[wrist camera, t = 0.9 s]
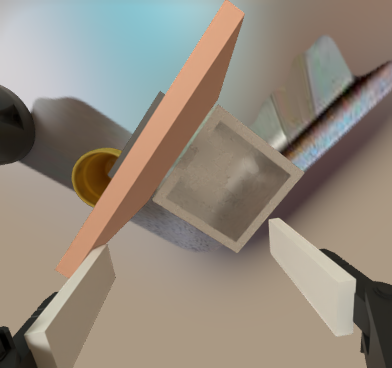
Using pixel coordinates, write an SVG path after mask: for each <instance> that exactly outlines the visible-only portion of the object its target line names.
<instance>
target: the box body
mask: <svg viewBox="0 0 392 368" xmlns="http://www.w3.org/2000/svg"><path fill="white" fill-rule="evenodd" d="M303 174H304V172H303V171H302V170H300V169H299V168H298V167H297V166H295V165H294V164H293V163H292V162H290V161H289V160H288V159H287V158H285V157H284V156H283V155H282V154H280V153H279V152H278V151H276V150H275V149H274V148H273V147H271V146H270V145H269V144H268V143H266V142H265V141H264V140H263V139H261V138H260V137H259V136H258V135H256V134H255V133H254V132H252V131H251V130H250V129H249V128H247V127H246V126H245V125H244V124H242V123H241V122H240V121H238V120H237V119H236V118H235V117H233V116H232V115H231V114H230V113H229V112H227V111H226V110H225V109H223V108H222V107H221V106H220V105H217V106H215V107H214V108H213V109H211V110H210V111H209V113H208V114H207V116H206V117H205V119H204V120H203V122H202V123H201V124H200V126H199V127H198V129H197V130H196V132H195V133H194V135H193V136H192V138H191V139H190V141H189V142H188V143H187V145H186V146H185V148H184V149H183V151H182V152H181V154H180V155H179V157H178V158H177V159H176V161H175V162H174V164H173V165H172V167H171V168H170V170H169V171H168V173H167V174H166V175H165V177H164V178H163V180H162V181H161V183H160V184H159V186H158V188H157V190H156V192H155V195H154V197H153V199H152V201H154V202H155V203H157V204H159V205H160V206H162V207H163V208H165V209H167V210H168V211H170V212H171V213H173V214H175V215H176V216H178V217H180V218H181V219H183V220H184V221H186V222H188V223H189V224H191V225H193V226H194V227H196V228H197V229H199V230H201V231H202V232H204V233H205V234H207V235H209V236H210V237H212V238H214V239H215V240H217V241H218V242H220V243H222V244H223V245H225V246H227V247H228V248H230V249H232V250H233V251H235V252H236V253H238V252H239V251H240V249H241V248H242V247H243V246H244V245H245V244H246V243H247V241H248V240H249V239H250V238H251V236H252V235H253V234H254V233H255V232H256V231H257V229H258V228H259V227H260V226H261V224H262V223H263V222H264V221H265V220H266V218H267V217H268V216H269V215H270V214H271V212H272V211H273V210H274V209H275V208H276V206H277V205H278V204H279V203H280V202H281V201H282V199H283V198H284V197H285V195H287V193H288V192H289V191H290V190H291V189H292V187H293V186H294V185H295V184H296V183H297V181H298V180H299V179H300V178H301V177H302V175H303Z"/></svg>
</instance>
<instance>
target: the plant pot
mask: <svg viewBox="0 0 392 368" xmlns="http://www.w3.org/2000/svg"><path fill="white" fill-rule="evenodd" d="M121 153H122V151H120V150H118V149H114V148H100V149H96V150H92V151H90V152H87V153H86V154H84V155H83V156H81V157H80V158H79V159H78V160H77V162H76V163H75V165H74V167H73V170H72V184H73V188H74V190H75V192H76V193H77V195H78V196H79V197H80V199H81V200H82V201H84V202H85V203H86V204H88V205H89V206H91V207H95V205H96V204H97V202H98V201H99V199H100V198H101V196H102V194H103V193H104V191H105V190H106V188H107V186H108V185H109V183H110V182H111V180H112V178H111V177H109V176H108V173H109V172H110V170H111V169H112V167H113V165H114V164H115V162H116V161H117V159H118V157H119V156H120V154H121Z"/></svg>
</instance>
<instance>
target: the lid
mask: <svg viewBox="0 0 392 368" xmlns="http://www.w3.org/2000/svg"><path fill="white" fill-rule="evenodd" d="M244 15H245V14H244V13H243V12H242V11H241V10H239V9H238V8H237V7H236V6H234V5H233V4H232V3H231V2H229V1H228V0H225V1H224V3H223V4H222V6H221V8H220V9H219V11H218V12H217V14H216V15H215V17H214V19H213V20H212V22H211V23H210V25H209V27H208V28H207V30H206V31H205V33H204V34H203V36H202V38H201V39H200V41H199V42H198V44H197V46H196V47H195V49H194V50H193V52H192V53H191V55H190V57H189V58H188V60H187V61H186V63H185V65H184V66H183V68H182V69H181V71H180V73H179V74H178V76H177V77H176V79H175V81H174V82H173V84H172V85H171V87H170V88H169V90H168V91H167V93H166V95H165V94H164V93H162V92H161V91H160V92H159V93H158V95H157V97H156V98H155V100H154V101H153V103H152V104H151V106H150V108H149V109H148V111H147V113H146V114H145V116H144V117H143V119H142V121H141V122H140V124H139V125H138V127H137V128H136V130H135V132H134V133H133V135H132V137H131V138H130V140H129V141H128V143H127V145H126V146H125V148H124V149H123V151H122V153H121V154H120V156H119V157H118V159H117V161H116V162H115V164H114V165H113V167H112V169H111V170H110V172H109V173H108V176H109V177H111V178H112V180H111V182H110V183H109V185H108V186H107V188H106V190H105V191H104V193H103V194H102V196H101V198H100V199H99V201H98V202H97V204H96V205H95V207H94V209H93V211H92V212H91V213H90V215H89V217H88V218H87V220H86V221H85V223H84V225H83V226H82V228H81V229H80V231H79V232H78V234H77V236H76V237H75V239H74V241H73V242H72V243H71V245H70V247H69V248H68V250H67V251H66V253H65V255H64V256H63V258H62V259H61V261H60V263H59V264H58V266H57V267H56V269H55V270H56V271H58V272H59V273H61V274H62V275H64V276H66V277H68V278H69V279H70V277H71V276H72V275H73V274H74V272H75V271H76V270H77V269H78V267H79V266H80V265H81V264H82V263H83V261H84V260H85V259H86V258H87V256H88V255H89V254H90V253H91V251H92V250H93V249H94V248H95V246H97V245H103V244H106V243H107V242H108V241H109V240H110V239H111V238H112V237H113V236H114V235H115V234H116V233H117V232H118V231H119V230H120V229H121V228H122V227H123V226H124V225H125V224H126V223H127V222H128V221H129V220H130V219H131V218H132V217H133V216H134V215H135V214H136V213H137V212H138V211H139V210H140V209H141V208H142V207H143V206H144V205H145V204H146V203H147V202H148V200H149V199H150V197H151V196H152V194H153V193H154V192H155V190H156V189H157V187H158V186H159V184H160V183H161V181H162V180H163V178H164V177H165V175H166V174H167V173H168V171H169V170H170V168H171V167H172V165H173V164H174V162H175V161H176V159H177V158H178V157H179V155H180V154H181V152H182V151H183V149H184V148H185V146H186V145H187V143H188V142H189V141H190V139H191V138H192V136H193V135H194V133H195V132H196V130H197V129H198V127H199V126H200V124H201V123H202V122H203V120H204V119H205V117H206V116H207V114H208V113H209V111H210V110H211V108H212V107H213V105H214V104H215V102H216V101H217V100H218V97H219V94H220V91H221V88H222V85H223V82H224V78H225V75H226V72H227V69H228V66H229V62H230V59H231V56H232V53H233V50H234V47H235V43H236V41H237V37H238V34H239V31H240V28H241V24H242V22H243V18H244Z"/></svg>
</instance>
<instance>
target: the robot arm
mask: <svg viewBox="0 0 392 368" xmlns="http://www.w3.org/2000/svg"><path fill="white" fill-rule="evenodd" d="M34 138H35V127H34V122H33V119H32V116H31V114H30V112H29V110H28V108H27V107H26V106H25V104H24V103H23V102H22V101H21V99H20V98H19V97H18V96H17V95H15V94H14V93H13V92H12V91H10V90H9V89H7V88H5V87H3V86H1V85H0V165H4V164H9V163H13V162H16V161H18V160H20V159H22V158H23V157H24V156H25V155H26V154H27V153H28V152H29V151H30V149H31V147H32V145H33V142H34ZM269 238H270V253H271V255H272V256H273V257H274V258H275V260H276V261H277V262H278V264H279V265H280V266H281V267H282V269H283V270H284V271H285V272H286V274H287V275H288V276H289V277H290V279H291V280H292V281H293V283H294V284H295V285H296V286H297V288H298V289H299V290H300V291H301V293H302V294H303V295H304V296H305V298H306V299H307V300H308V302H309V303H310V304H311V305H312V306H313V308H314V309H315V310H316V312H317V313H318V314H319V315H320V317H321V318H322V319H323V321H324V322H325V323H326V324H327V326H328V327H329V328H330V329H331V331H332V332H333V333H334V334H335V336H343V335H348V334H353V325H354V323H355V324H356V325H357V326H358V327H359V328H360V329H361V330H362V337H361V353H364V354H365V359H366V365H367V368H392V285H390V284H387V283H383V282H376V281H372V280H371V279H369V278H368V277H366V276H365V275H364V274H362V273H361V272H360V271H358V270H357V269H355V268H354V267H353V266H352V265H349V263H347V262H346V261H345V260H342V258H340V257H339V256H338V255H337V254H335V253H333V252H331V251H329V250H327V249H317V248H316V247H315V246H313V245H312V244H311V243H310V242H308V241H307V240H306V239H305V238H303V237H302V236H301V235H300V234H298V233H297V232H296V231H295V230H293V229H292V228H291V227H290V226H288V225H287V224H286V223H285V222H283V221H282V220H281V219H280V218H275V219H269ZM115 278H116V277H115V273H114V269H113V266H112V261H111V257H110V254H109V249H108V245H107V244H103V245H97V246H95V248H94V249H93V250H92V251H91V253H90V254H89V255H88V256H87V258H86V259H85V260H84V261H83V263H82V264H81V265H80V266H79V267H78V269H77V270H76V271H75V272H74V274H73V275H72V276H71V277H70V279H69V280H68V281H67V282H66V284H65V285H64V286H63V287H62V289H61V290H60V291H59V292H54V293H53V294H52V295H51V296H49V297H48V298H47V299H45V300H44V301H43V303H42V304H41V305H40V306H39V307H38V309H37V311H35V312H34V313H33V315H31V318H29V319H28V320H27V321H26V323H25V324H24V325H23V326H22V327H21V328H20V330H19V331H18V332H17V333H16V334H15V335H14V336H13V338H12V336H11V333H10V331H9V328H8V327H4V326H3V327H0V368H73V366H74V364H75V362H76V360H77V358H78V355H79V353H80V351H81V349H82V347H83V345H84V343H85V341H86V339H87V337H88V334H89V332H90V330H91V328H92V326H93V324H94V322H95V320H96V318H97V316H98V313H99V312H100V309H101V307H102V305H103V303H104V301H105V299H106V297H107V295H108V293H109V291H110V288H111V286H112V284H113V282H114V280H115Z"/></svg>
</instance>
